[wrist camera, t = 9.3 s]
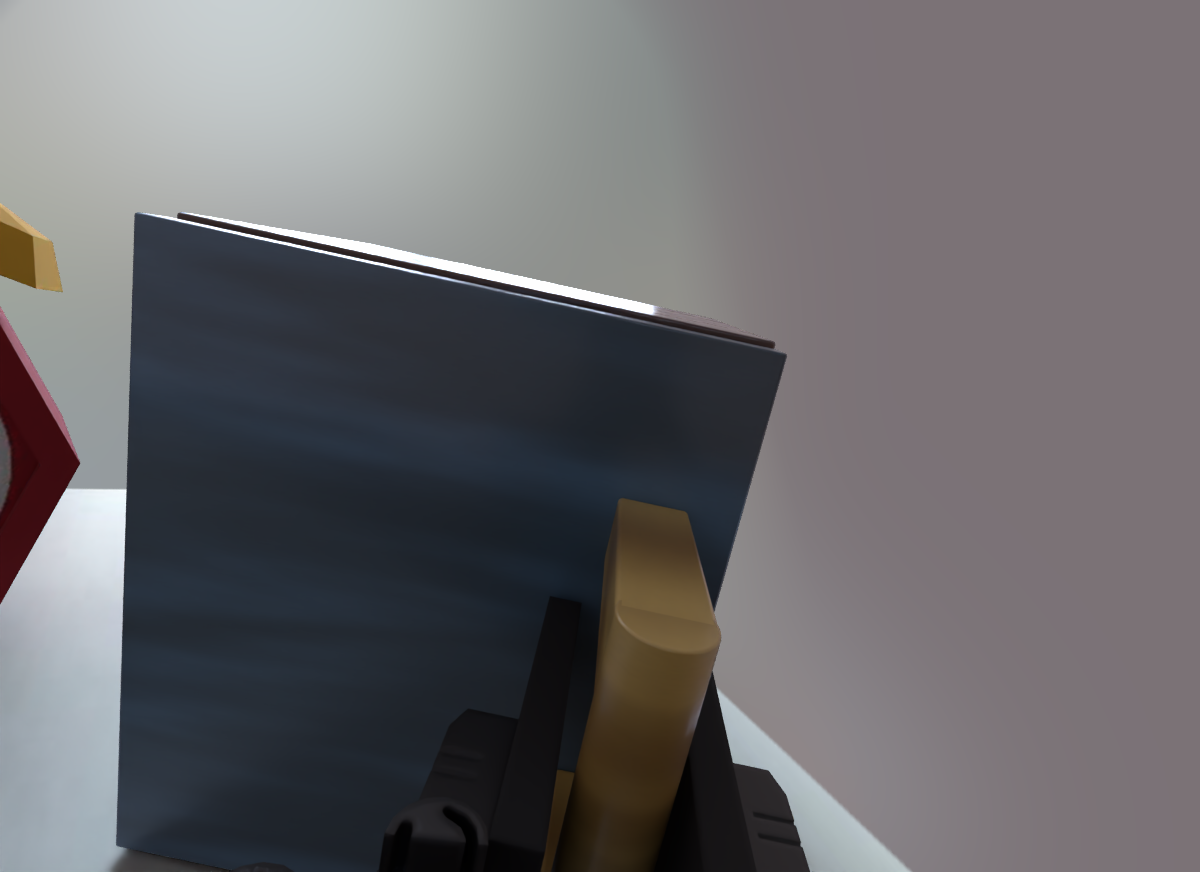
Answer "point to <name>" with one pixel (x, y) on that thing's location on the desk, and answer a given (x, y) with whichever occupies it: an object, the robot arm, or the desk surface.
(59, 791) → the desk surface
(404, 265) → the cupboard
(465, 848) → the robot arm
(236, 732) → the door
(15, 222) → the alarm clock
